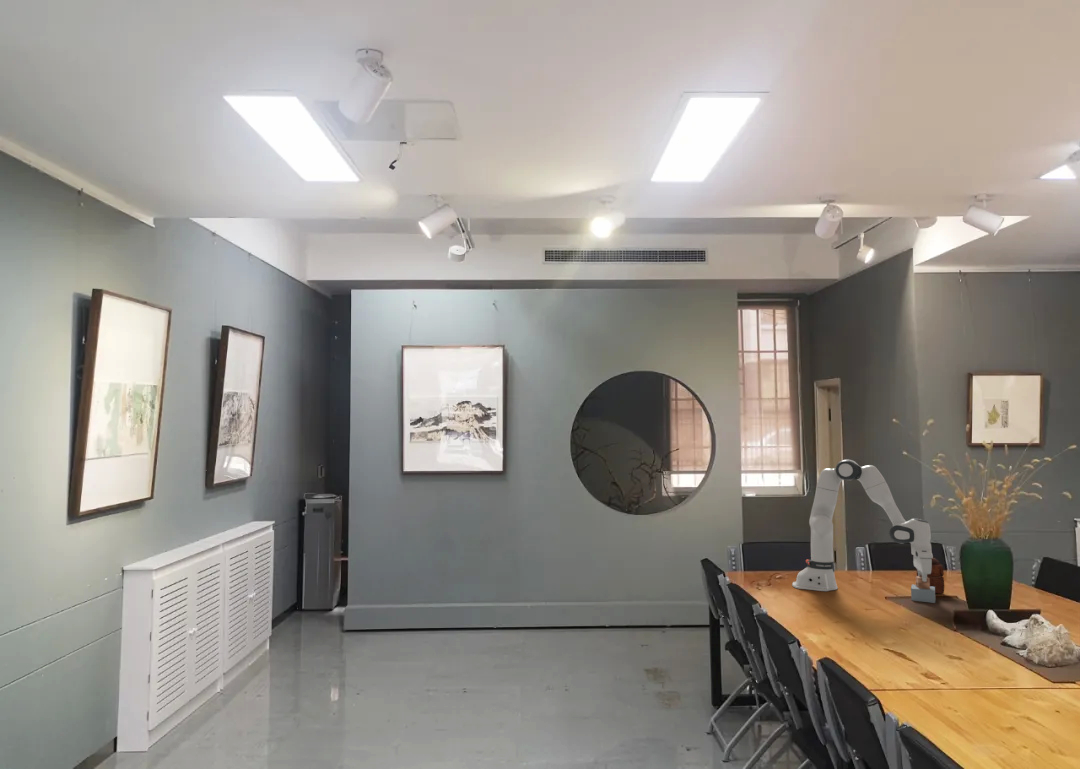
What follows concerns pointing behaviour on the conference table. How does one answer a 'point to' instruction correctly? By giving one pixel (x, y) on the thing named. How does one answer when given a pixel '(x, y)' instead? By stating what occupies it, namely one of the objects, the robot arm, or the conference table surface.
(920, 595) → the slate base block
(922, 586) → the terracotta cube
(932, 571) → the wooden figurine
